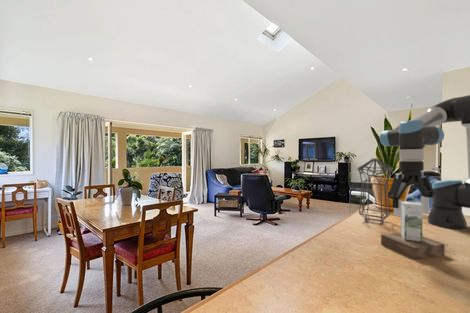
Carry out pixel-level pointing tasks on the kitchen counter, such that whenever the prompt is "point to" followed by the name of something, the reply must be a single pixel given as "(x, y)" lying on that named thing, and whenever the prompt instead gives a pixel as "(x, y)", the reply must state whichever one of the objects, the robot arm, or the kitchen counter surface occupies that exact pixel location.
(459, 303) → the kitchen counter surface
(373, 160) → the geometric lantern
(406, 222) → the syrup box
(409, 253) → the walnut base
